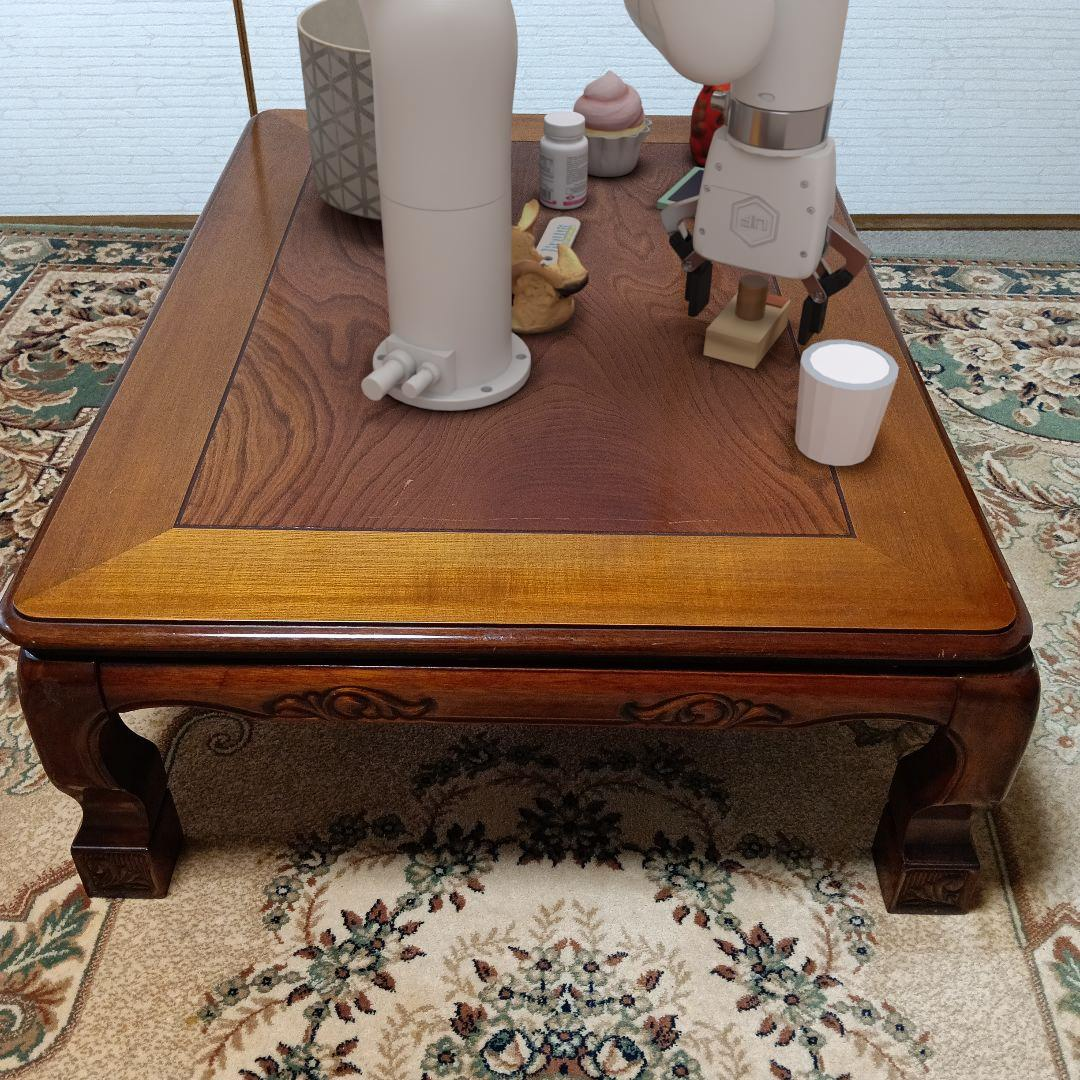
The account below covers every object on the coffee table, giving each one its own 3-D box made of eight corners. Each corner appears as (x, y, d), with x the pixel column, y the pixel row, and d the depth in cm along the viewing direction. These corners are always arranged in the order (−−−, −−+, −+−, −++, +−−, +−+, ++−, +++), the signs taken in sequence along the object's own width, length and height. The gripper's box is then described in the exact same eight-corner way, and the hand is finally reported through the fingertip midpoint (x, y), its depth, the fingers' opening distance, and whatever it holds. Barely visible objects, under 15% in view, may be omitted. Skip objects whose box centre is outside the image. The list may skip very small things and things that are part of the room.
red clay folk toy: (700, 175, 127) (715, 27, 118) (675, 150, 132) (688, 6, 123) (766, 168, 129) (786, 21, 119) (739, 143, 134) (757, 1, 124)
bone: (443, 321, 103) (439, 229, 97) (495, 273, 110) (494, 185, 104) (571, 354, 99) (574, 260, 94) (617, 302, 106) (623, 212, 100)
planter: (422, 271, 110) (411, 68, 98) (276, 214, 118) (251, 21, 107) (547, 202, 121) (551, 13, 110) (406, 155, 130) (396, -25, 118)
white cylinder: (811, 477, 86) (828, 395, 82) (771, 425, 91) (784, 344, 87) (897, 462, 88) (918, 381, 83) (852, 412, 93) (870, 332, 88)
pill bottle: (587, 192, 123) (591, 110, 118) (584, 212, 120) (587, 128, 114) (541, 189, 124) (542, 107, 118) (536, 209, 120) (537, 125, 115)
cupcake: (643, 148, 132) (650, 55, 126) (654, 183, 125) (662, 86, 119) (558, 149, 132) (561, 55, 126) (565, 184, 125) (568, 87, 118)
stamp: (754, 369, 97) (763, 308, 94) (702, 355, 99) (709, 295, 96) (787, 326, 103) (796, 267, 99) (737, 313, 105) (745, 255, 101)
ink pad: (731, 226, 118) (732, 217, 117) (656, 208, 121) (656, 200, 120) (766, 189, 125) (767, 180, 124) (694, 173, 127) (695, 165, 127)
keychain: (561, 263, 110) (528, 260, 110) (560, 269, 110) (528, 266, 110) (583, 215, 117) (553, 212, 118) (583, 221, 118) (553, 217, 118)
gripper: (650, 114, 90) (637, 319, 101) (879, 158, 83) (839, 371, 94) (689, 83, 95) (673, 281, 106) (907, 122, 88) (866, 328, 99)
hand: (751, 323), depth 100 cm, fingers open, 9 cm apart
